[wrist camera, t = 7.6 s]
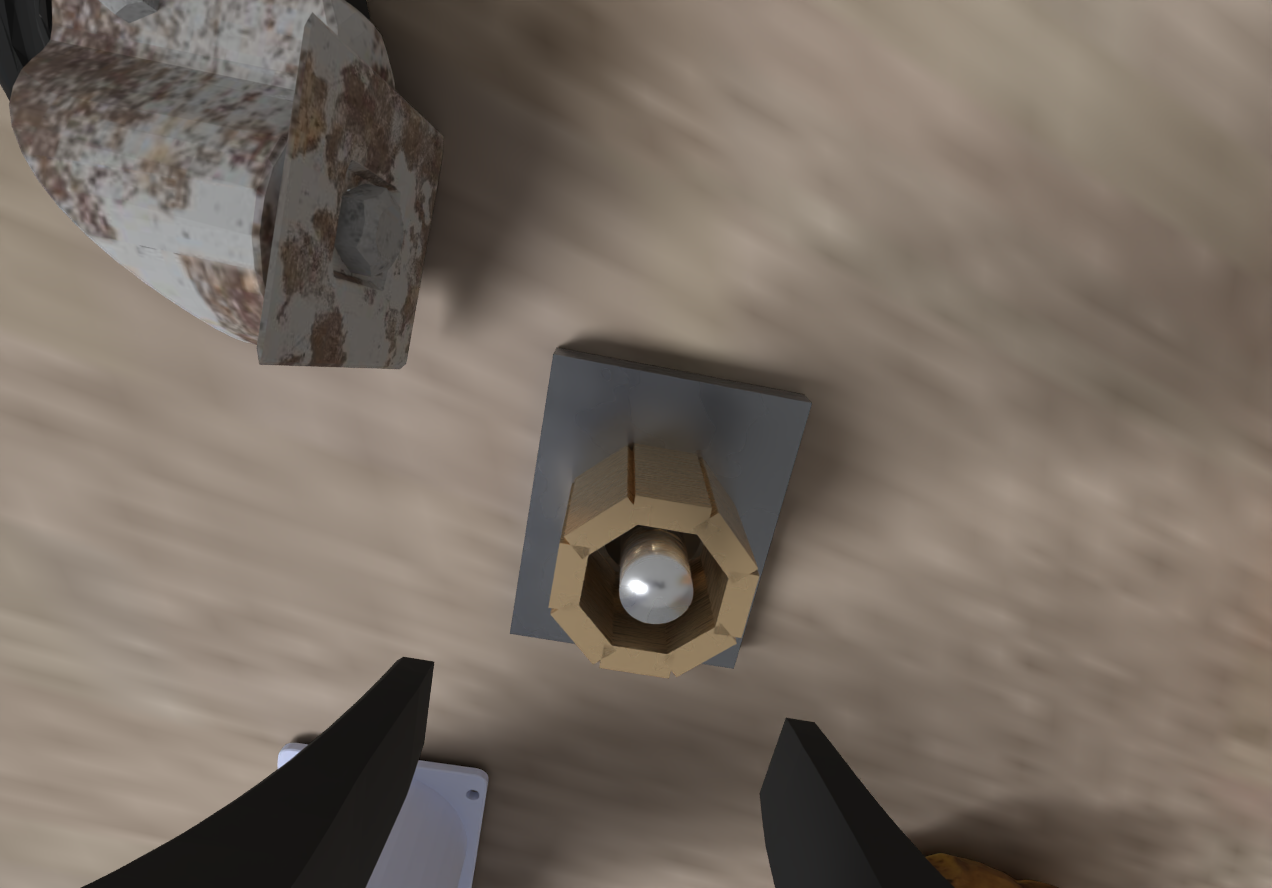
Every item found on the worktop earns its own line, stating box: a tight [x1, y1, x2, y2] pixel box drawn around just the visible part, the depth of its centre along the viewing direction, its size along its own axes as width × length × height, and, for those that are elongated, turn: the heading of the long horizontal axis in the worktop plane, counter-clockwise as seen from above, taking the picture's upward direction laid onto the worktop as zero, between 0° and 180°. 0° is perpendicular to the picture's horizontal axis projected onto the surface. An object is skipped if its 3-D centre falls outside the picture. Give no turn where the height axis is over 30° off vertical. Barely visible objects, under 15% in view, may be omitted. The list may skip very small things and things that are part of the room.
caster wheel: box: [0, 0, 444, 369], centre depth 16 cm, size 7×11×10 cm
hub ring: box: [548, 443, 759, 678], centre depth 20 cm, size 5×5×4 cm
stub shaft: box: [510, 348, 812, 669], centre depth 20 cm, size 10×8×5 cm
